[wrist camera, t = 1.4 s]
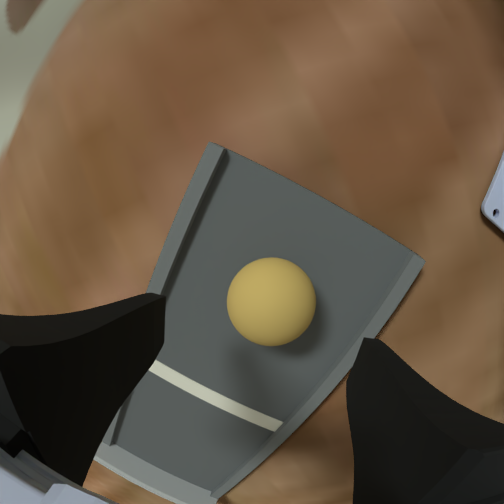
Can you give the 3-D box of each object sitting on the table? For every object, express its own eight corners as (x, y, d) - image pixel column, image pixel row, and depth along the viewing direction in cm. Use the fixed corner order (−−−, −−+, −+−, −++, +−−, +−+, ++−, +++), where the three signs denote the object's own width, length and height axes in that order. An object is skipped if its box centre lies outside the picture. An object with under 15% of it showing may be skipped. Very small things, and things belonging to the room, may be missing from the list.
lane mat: (418, 254, 15) (439, 272, 12) (215, 493, 23) (208, 516, 20) (215, 143, 15) (196, 138, 12) (106, 439, 23) (92, 458, 20)
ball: (329, 271, 15) (337, 305, 11) (290, 332, 16) (285, 377, 12) (258, 233, 15) (242, 255, 11) (224, 298, 16) (202, 336, 13)
